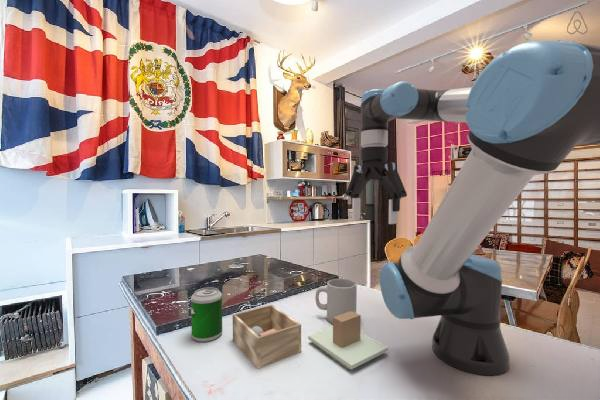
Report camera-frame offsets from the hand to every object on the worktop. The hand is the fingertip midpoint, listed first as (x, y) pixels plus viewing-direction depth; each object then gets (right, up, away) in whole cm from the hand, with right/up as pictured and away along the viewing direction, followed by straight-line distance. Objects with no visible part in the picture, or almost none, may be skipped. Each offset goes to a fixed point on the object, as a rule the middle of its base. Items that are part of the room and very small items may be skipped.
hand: (373, 221), depth 84 cm
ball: (-32, -29, -12) cm, 45 cm away
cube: (-28, -29, -17) cm, 43 cm away
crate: (-29, -29, -14) cm, 44 cm away
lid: (-10, -28, -16) cm, 34 cm away
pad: (-10, -29, -16) cm, 35 cm away
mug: (-11, -29, +1) cm, 31 cm away
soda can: (-45, -29, -9) cm, 55 cm away
